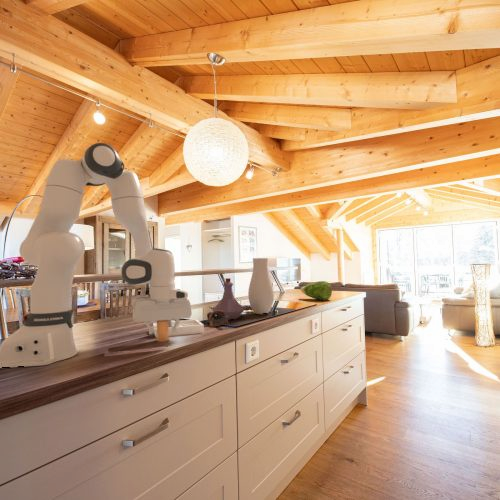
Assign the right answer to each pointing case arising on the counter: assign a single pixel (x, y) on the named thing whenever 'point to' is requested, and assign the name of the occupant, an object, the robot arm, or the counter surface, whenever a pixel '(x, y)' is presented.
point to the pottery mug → (217, 318)
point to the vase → (260, 287)
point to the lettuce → (318, 290)
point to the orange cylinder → (163, 330)
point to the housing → (183, 328)
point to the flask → (229, 302)
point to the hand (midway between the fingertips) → (162, 332)
